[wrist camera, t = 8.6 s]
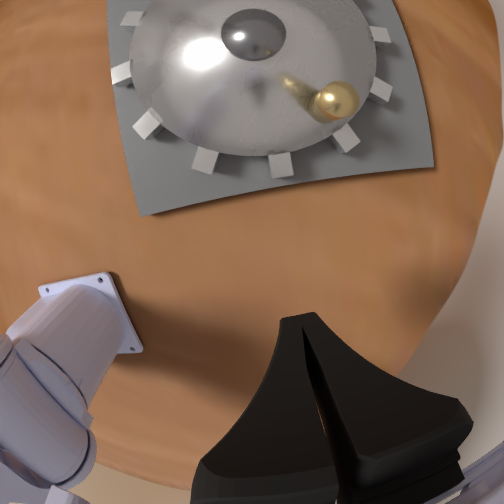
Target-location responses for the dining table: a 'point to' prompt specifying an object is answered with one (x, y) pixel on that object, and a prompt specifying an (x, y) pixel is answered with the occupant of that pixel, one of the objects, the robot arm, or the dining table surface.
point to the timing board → (303, 160)
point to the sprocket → (252, 75)
